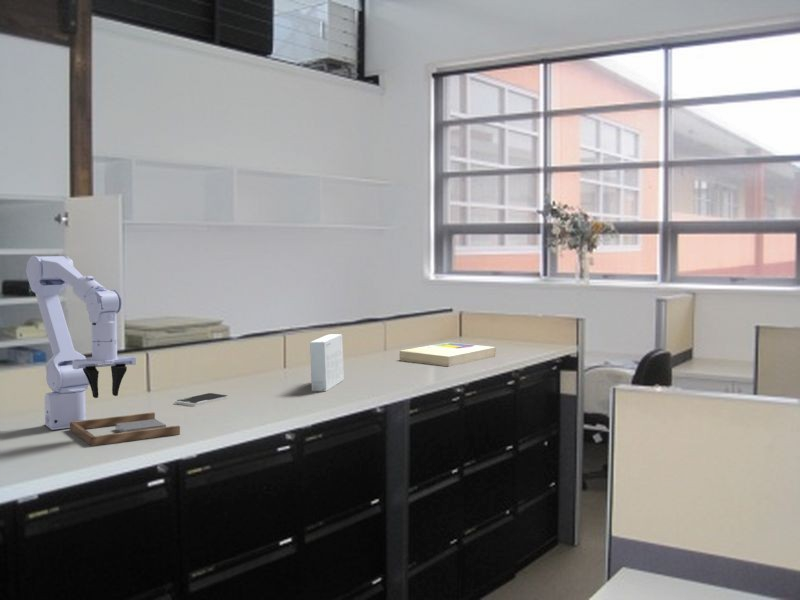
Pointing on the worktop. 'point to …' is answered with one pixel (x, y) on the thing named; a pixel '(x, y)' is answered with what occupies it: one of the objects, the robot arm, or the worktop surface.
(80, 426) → the walnut u-shaped frame
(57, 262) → the robot arm
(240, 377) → the worktop surface
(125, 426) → the cover plate
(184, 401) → the smartphone
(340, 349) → the skincare box
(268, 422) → the worktop surface
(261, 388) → the worktop surface
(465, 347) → the puzzle box
